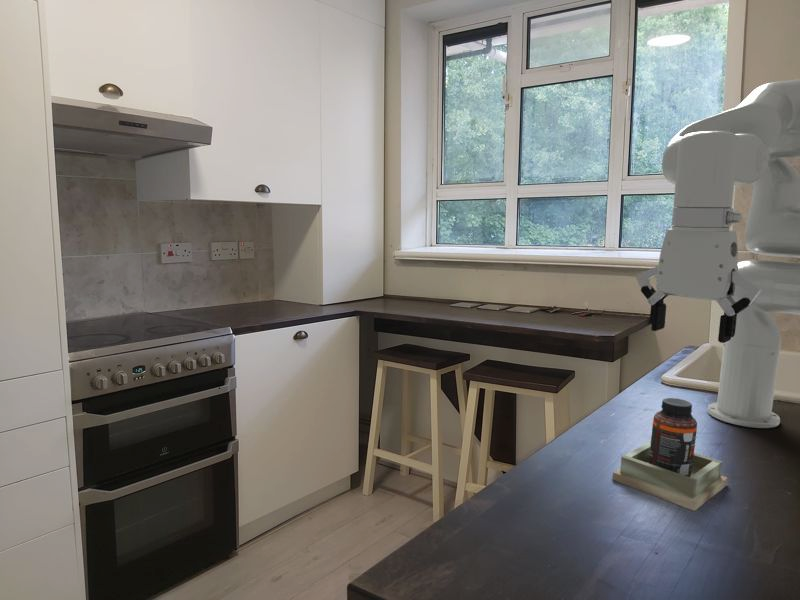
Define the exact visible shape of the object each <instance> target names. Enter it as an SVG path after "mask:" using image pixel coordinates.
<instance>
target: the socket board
mask: <svg viewBox="0 0 800 600" xmlns="http://www.w3.org/2000/svg"><path fill="white" fill-rule="evenodd" d="M650 446H651V440H650V441H649V442H646V443H644V444H643V445H641V446H638V448H636V449H634V450H632V451H630V452H628V453H626V454H624V455H622V456H621V459H620V468H618V469H616V470H614V471H613V472H612V478H611V480H612V481H614V482H617V483H620V484H623V485H625V486H628V487H630V488H632V489H633V488H634V489H635V490H639V491H641V492H644V493H647V494H649V495H651V496H654V497H656V498H659V499H662V500H665V501H666V502H667V501H668V502H670V503H673V504H675V505H678V506H680V507H683V508H686V509H688V510H691V511H694V512H696V510H698V509H699V508H700V507H702V506H703V505H704V504H705V503H707V502H708V501H709V500H710V499H711V498H713V497H714V496H716V494H718V493H719V492H720V491H722V490H723V489H724V488H725V487H727V486H728V479H729V478H728V477H727V476H725V475H722V469H723V461H722V460H719V459H716V458H712V457H710V456H709V457H708V456H706V455H703V454H700V453H696V452H694V458H693V466H692V472H691V477H687V476H684V475H681V474H678V473H675V472H672V471H669V470H667V469H664V468H661V467H658V466H655V465H652V464H649V456H650Z"/></svg>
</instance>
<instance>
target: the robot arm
mask: <svg viewBox="0 0 800 600" xmlns="http://www.w3.org/2000/svg"><path fill="white" fill-rule="evenodd" d="M786 158H800V78H798V79H789V80H779V81H772V82H768V83H765V84H761V85H760V86H757V87H756V88H755V89H754V90H753V91H751V92H750V94H748V96H746V98H744V99H743V100H742V101H741V103H739V104H738V105H737V106H736V107H734V108H730V109H728V110H725V111H722V112H720V113H717V114H714V115H712V116H709V117H705V118H702V119H700V120H698V121H695V122H692V123H691V124H688V125H686V126H685V127H684V128H682V129H681V130H680V131H678V133H676V135H674V136H673V137H672V139H671V140H670V141H669V143H668V144H667V146H666V148H665V150H664V152H663V156H662V161H661V169H662V170H661V171H662V173H663V175H664V178H665V179H666V180H667V181H668V182H669V183H670V184H672V185H674V186H675V187H674V195H673V209H672V218H671V219H672V220H671V228H667V229H666V232H665V235H664V238H663V241H662V244H661V250H660V254H659V260H658V264H657V266H655V267H652V268H650V269H647V270H644V271H642V272H640V273H638V274H636V277H635V279H636V280H637V283H638V285H639V286H638V287H640V293H642V295H643V296H644V298H646V299H647V303H648V305H650V315H649V323H650V325H651V329H650V330H651V331H653V332H657V331H660V330H663V329H664V328H665V326H666V325H665V324H666V313H667V304H666V303H665V302H664V301H665V300H666V299H667V298H668V297H669V296H674V297H675V296H676V297H681V298H686V299H687V298H690V299H696V300H706V301H712V302H713V301H714V302H715V301H716V302H717V304H718V305H719V306H720V308H721V310H722V311H723V314H722V315H720V317H719V326H718V335H717V336H718V337H717V342H719V343H720V344H723V348H722V358H721V366H720V375H719V383H718V392H717V398H716V399H717V400H716V402H712V403H709V404H708V406H707V413H708V414H709V415H710V416H712V417H713V418H715V419H717V420H719V421H722V422H724V423H728V424H731V425H736V426H739V427H740V426H742V427H745V428H753V429H755V428H756V429H771V428H776V427H778V426H779V425H780V423H781V418H780V416H779V414H776V413H775V412H773V411H772V410H773V405H774V404H773V403H774V398H775V389H776V382H777V375H778V368H779V367H778V366H779V359H780V352H781V351H780V350H781V344H782V334H781V330H780V328H779V325H778V324H777V321H775V319H774V318H773V317H772V315H771V314H770V313H780V314H781V313H783V314H791V315H797V316H799V315H800V263H798V262H785V261H777V260H776V261H774V260H760V259H759V260H757V259H755V260H754V259H749V260H747V259H746V260H741V261H739V249H738V247H739V246H738V235H737V231H736V230H730V228H731V227H732V225H734V224H736V223H737V224H740V223H741V222H742V219H743V218H742V217H743V215H742V213H740V212H735V211H734V208H732V207H733V198H734V189H735V186H744V185H749V184H753V188H752V193H751V199H750V204H749V209H748V214H747V219H746V225H745V229H744V235H743V237H744V238H743V241H744V243H743V244H744V247H745V249H747V251H749V252H750V253H752V254H756V255H762V256H769V257H770V256H771V257H783V258H796V259H797V258H798V259H800V173H799V172H798V171H797V169H796V168H795V167H794V166H793V165H792V164H791V163H790V162H789V161H788V160H787V159H786ZM654 277H656V282H655V284H656V290H655V288H654V287H653V286H652V285H651V282H650V280H651V278H654Z"/></svg>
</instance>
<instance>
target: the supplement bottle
mask: <svg viewBox="0 0 800 600" xmlns="http://www.w3.org/2000/svg"><path fill="white" fill-rule="evenodd" d="M692 409H693V404H692V403H691V402H690V401H688V400H685V399H681V398H676V397H665V398H663V399H662V402H661V410H660V411H657V412H656V413H654V415H653V420H652V428H651V436H650V437H651V438H650V441H651V446H650V456H649V464H652V465H655V466H658V467H661V468H664V469H667V470H669V471H672V472H675V473H678V474H681V475H684V476H687V477H691V472H692V466H693V458H694V453H695V447H696V438H697V430H698V429H697V428H698V422H697V420H696V418H694V416H693V415H692V412H693V411H692Z"/></svg>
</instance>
